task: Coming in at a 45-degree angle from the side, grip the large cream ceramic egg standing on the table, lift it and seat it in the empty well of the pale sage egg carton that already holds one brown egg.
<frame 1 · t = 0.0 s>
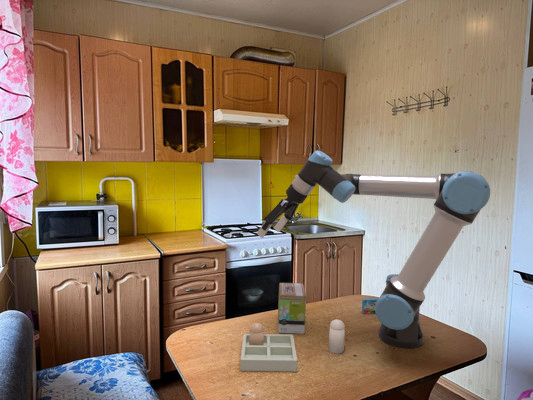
hand: (268, 232, 142), 36 cm above the table, tool tilted 35°, fingers open, 13 cm apart
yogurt: (376, 313, 158), on the table
carton: (268, 356, 121), on the table
tea box: (290, 325, 145), on the table
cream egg: (336, 349, 126), on the table
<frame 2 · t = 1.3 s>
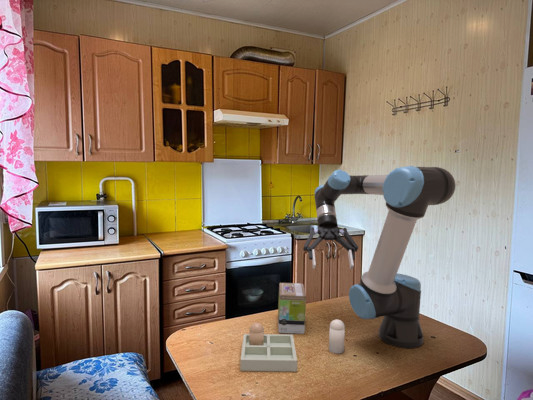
hand: (333, 267, 133), 26 cm above the table, tool tilted 45°, fingers open, 13 cm apart
nothing on the table moved.
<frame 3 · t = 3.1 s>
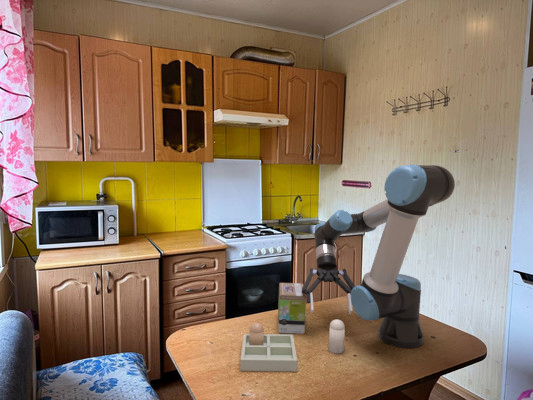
hand: (331, 312, 131), 11 cm above the table, tool tilted 45°, fingers open, 13 cm apart
nothing on the table moved.
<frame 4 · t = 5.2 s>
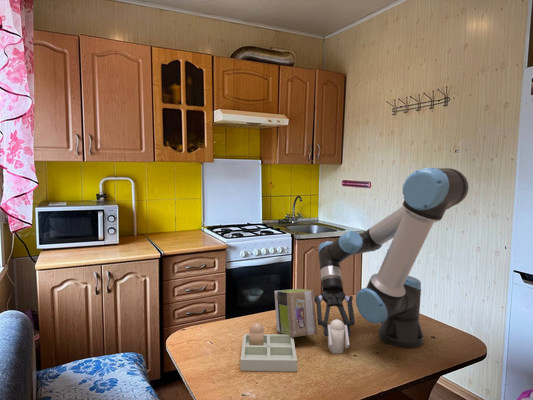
hand: (338, 345, 122), 3 cm above the table, tool tilted 45°, fingers closed on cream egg, 5 cm apart
tea box: (287, 309, 142), point 7 cm above the table, touching carton
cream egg: (336, 349, 126), on the table, touching gripper
everything else where it was.
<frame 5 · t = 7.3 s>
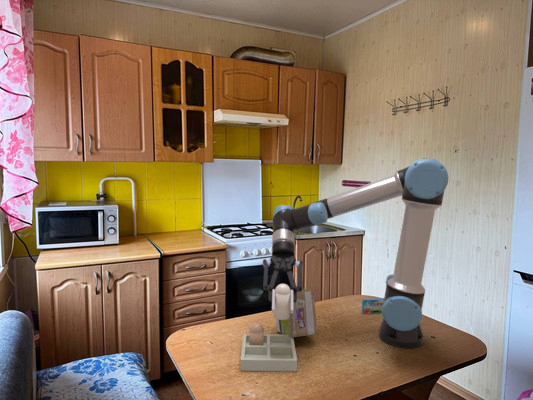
hand: (282, 311, 113), 18 cm above the table, tool tilted 45°, fingers closed on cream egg, 5 cm apart
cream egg: (281, 316, 117), point 15 cm above the table, touching gripper
everything else where it was.
when the fingers open (6 cm above the table, at t = 9.8 s): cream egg drops 2 cm, resting on carton.
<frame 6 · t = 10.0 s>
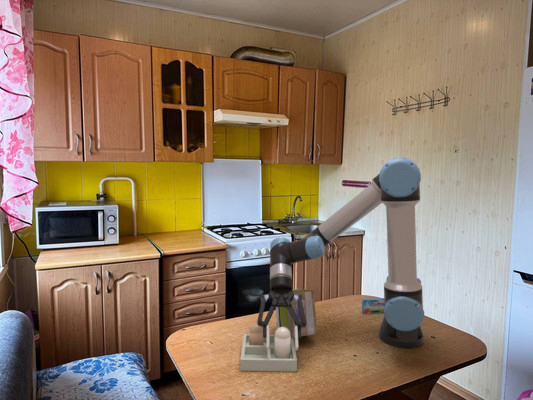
hand: (282, 348, 113), 7 cm above the table, tool tilted 45°, fingers open, 8 cm apart
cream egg: (282, 359, 117), point 1 cm above the table, touching carton
everything else where it was.
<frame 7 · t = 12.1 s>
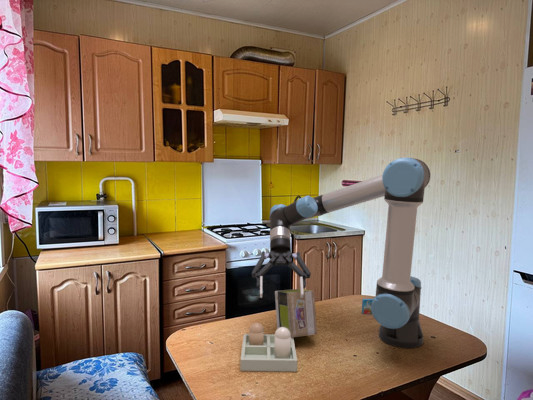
hand: (281, 296, 123), 19 cm above the table, tool tilted 45°, fingers open, 13 cm apart
nothing on the table moved.
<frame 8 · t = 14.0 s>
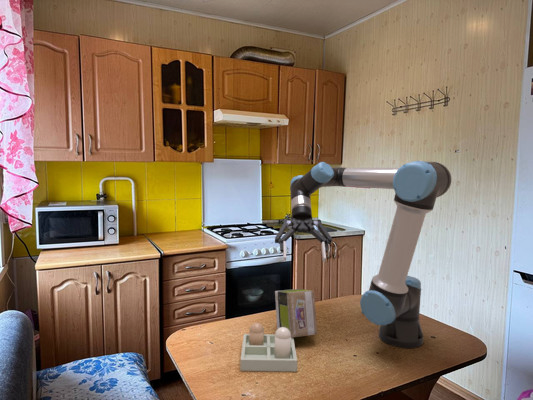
hand: (304, 259, 127), 30 cm above the table, tool tilted 45°, fingers open, 13 cm apart
nothing on the table moved.
at the end: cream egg 0.4 cm from the target spot on the carton, point 1.0 cm above the carton's base; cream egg tilted 0°; the gripper is holding nothing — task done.
